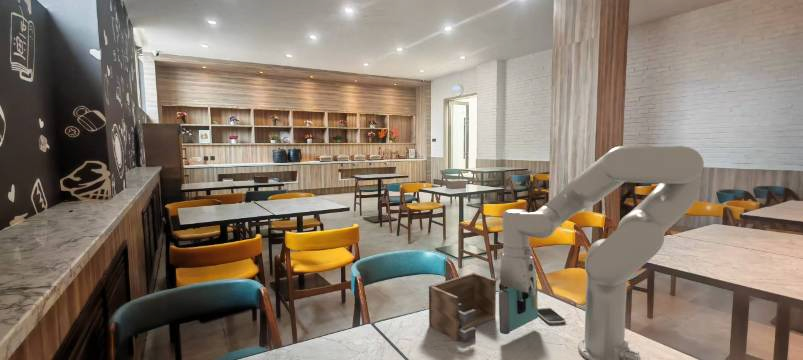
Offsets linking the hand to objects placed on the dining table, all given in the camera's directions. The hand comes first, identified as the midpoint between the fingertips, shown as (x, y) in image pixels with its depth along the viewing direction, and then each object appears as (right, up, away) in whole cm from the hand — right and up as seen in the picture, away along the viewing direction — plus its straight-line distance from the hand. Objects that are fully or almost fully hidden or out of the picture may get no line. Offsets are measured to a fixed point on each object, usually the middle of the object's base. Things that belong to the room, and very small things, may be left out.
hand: (517, 310), depth 116 cm
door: (+1, -4, 0) cm, 4 cm away
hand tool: (+6, -5, +26) cm, 27 cm away
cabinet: (-14, -7, +8) cm, 17 cm away
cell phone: (+14, -7, +12) cm, 20 cm away
